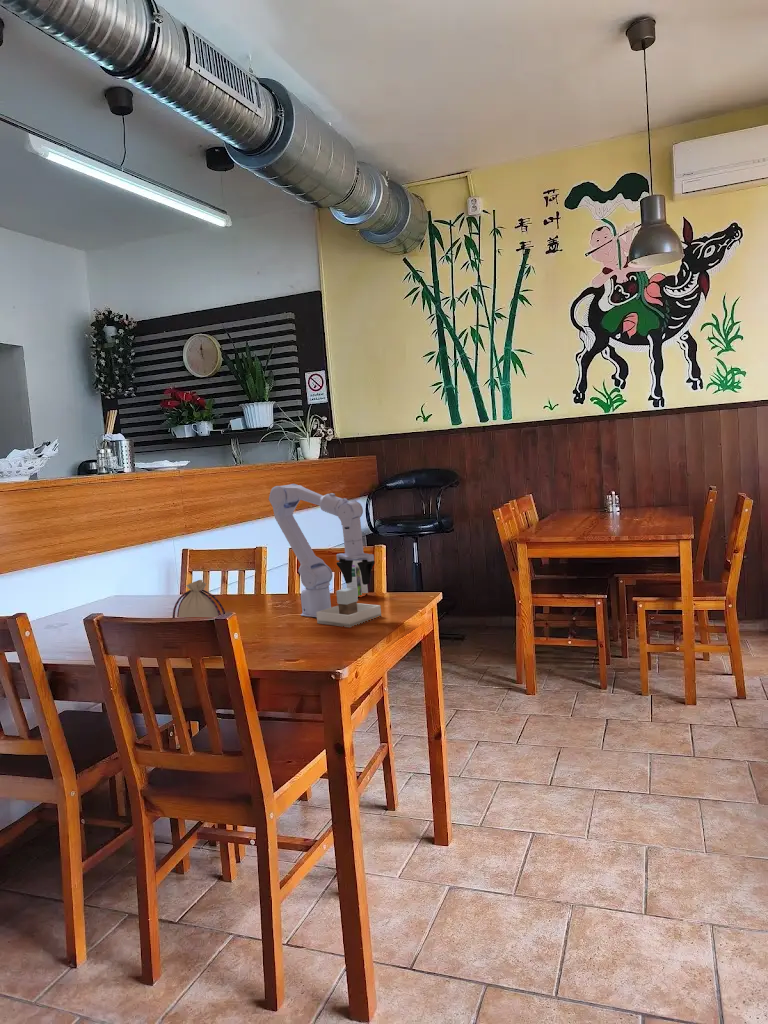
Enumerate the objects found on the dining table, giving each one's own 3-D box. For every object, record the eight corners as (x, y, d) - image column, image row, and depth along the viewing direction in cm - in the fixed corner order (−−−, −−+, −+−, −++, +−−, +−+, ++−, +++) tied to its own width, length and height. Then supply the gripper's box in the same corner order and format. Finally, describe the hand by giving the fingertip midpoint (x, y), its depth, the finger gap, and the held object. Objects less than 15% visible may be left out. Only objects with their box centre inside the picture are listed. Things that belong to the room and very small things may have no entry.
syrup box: (346, 598, 260) (342, 557, 259) (355, 594, 265) (351, 554, 264) (360, 598, 257) (356, 557, 256) (368, 594, 263) (365, 554, 261)
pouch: (248, 642, 209) (241, 576, 207) (234, 650, 201) (226, 582, 200) (172, 643, 217) (165, 579, 215) (156, 651, 209) (148, 585, 207)
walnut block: (339, 617, 225) (338, 603, 225) (348, 614, 228) (347, 600, 228) (348, 618, 222) (347, 604, 222) (358, 615, 225) (356, 601, 225)
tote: (317, 623, 225) (316, 612, 224) (349, 613, 235) (348, 602, 235) (349, 627, 215) (348, 615, 215) (381, 616, 226) (380, 605, 225)
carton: (337, 603, 224) (336, 590, 224) (348, 600, 228) (347, 587, 228) (346, 604, 222) (345, 591, 221) (358, 601, 225) (356, 588, 225)
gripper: (327, 542, 229) (332, 584, 230) (360, 542, 219) (365, 587, 220) (343, 538, 234) (348, 580, 235) (376, 539, 224) (381, 582, 225)
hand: (357, 583), depth 228 cm, fingers open, 7 cm apart
